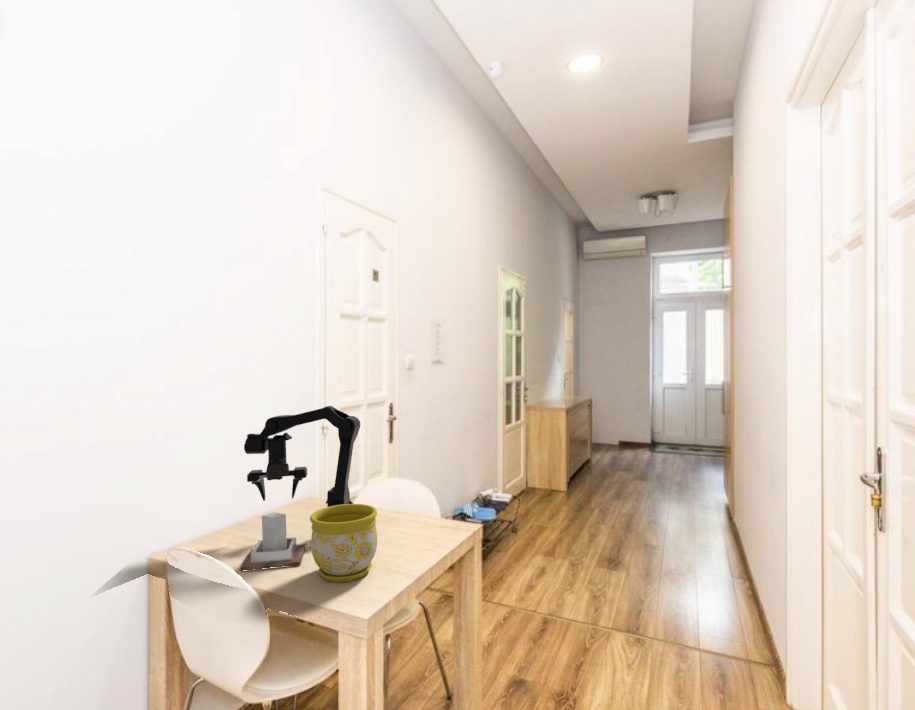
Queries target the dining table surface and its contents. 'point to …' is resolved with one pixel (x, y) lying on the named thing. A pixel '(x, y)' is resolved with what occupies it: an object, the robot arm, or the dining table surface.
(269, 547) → the skincare box
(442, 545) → the dining table surface
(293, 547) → the light gray square frame
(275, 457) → the robot arm
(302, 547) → the square wooden tray
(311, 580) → the dining table surface
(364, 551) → the flowerpot
